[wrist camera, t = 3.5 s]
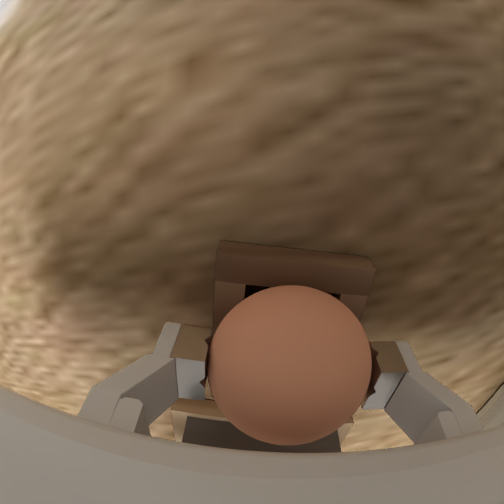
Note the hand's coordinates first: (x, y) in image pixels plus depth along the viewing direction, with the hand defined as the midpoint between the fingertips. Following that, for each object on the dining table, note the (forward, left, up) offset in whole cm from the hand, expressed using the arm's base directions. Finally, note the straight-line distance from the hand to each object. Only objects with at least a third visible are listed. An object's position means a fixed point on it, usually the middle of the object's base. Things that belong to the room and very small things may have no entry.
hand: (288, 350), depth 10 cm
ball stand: (0, 0, -2) cm, 2 cm away
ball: (0, 0, +1) cm, 1 cm away
